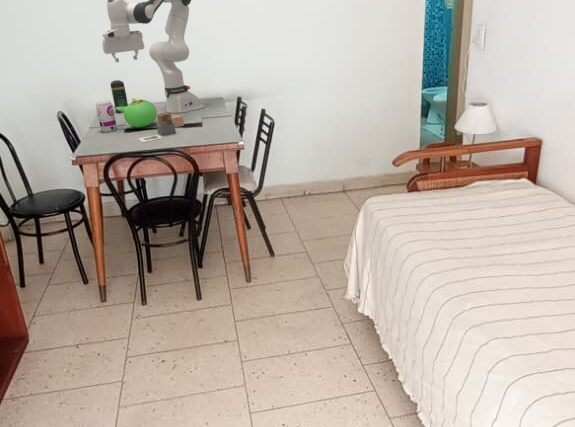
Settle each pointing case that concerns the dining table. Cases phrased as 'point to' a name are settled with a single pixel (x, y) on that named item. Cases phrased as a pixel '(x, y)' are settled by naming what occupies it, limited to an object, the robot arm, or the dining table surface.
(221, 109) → the dining table surface
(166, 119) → the walnut cube
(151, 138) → the card
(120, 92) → the coffee jar
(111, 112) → the supplement can
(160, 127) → the charcoal base block
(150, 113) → the toy bird
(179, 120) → the terracotta cube
